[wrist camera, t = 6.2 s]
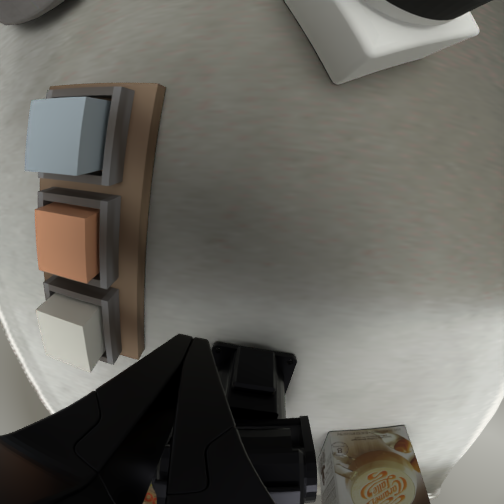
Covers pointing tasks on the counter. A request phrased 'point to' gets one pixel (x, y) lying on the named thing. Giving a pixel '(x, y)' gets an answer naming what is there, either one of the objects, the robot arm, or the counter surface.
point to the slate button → (66, 135)
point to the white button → (72, 331)
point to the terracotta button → (68, 240)
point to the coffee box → (370, 468)
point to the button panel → (114, 210)
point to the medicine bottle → (381, 31)
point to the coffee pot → (24, 10)
